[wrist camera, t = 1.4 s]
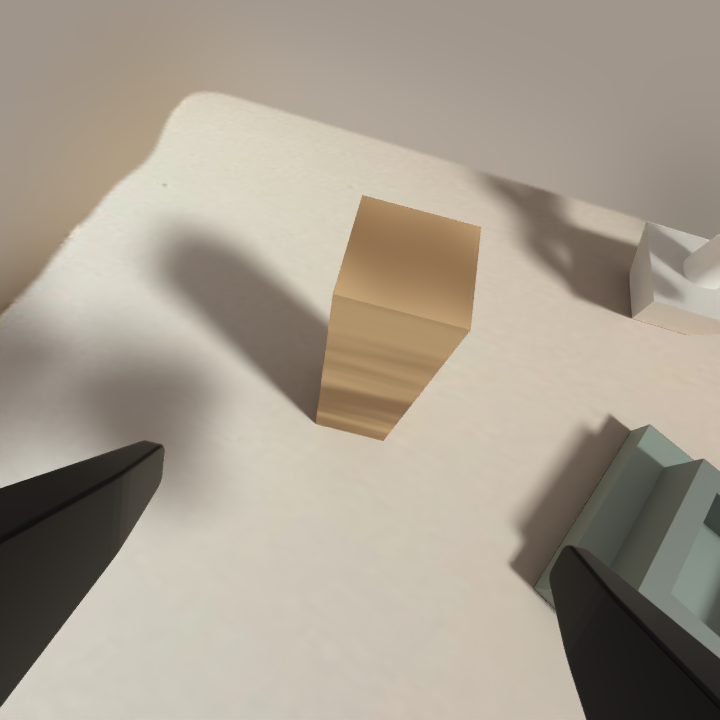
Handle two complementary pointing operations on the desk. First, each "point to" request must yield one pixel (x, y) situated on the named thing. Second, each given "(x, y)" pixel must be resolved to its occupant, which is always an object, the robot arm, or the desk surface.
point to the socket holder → (657, 531)
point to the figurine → (676, 281)
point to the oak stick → (394, 314)
